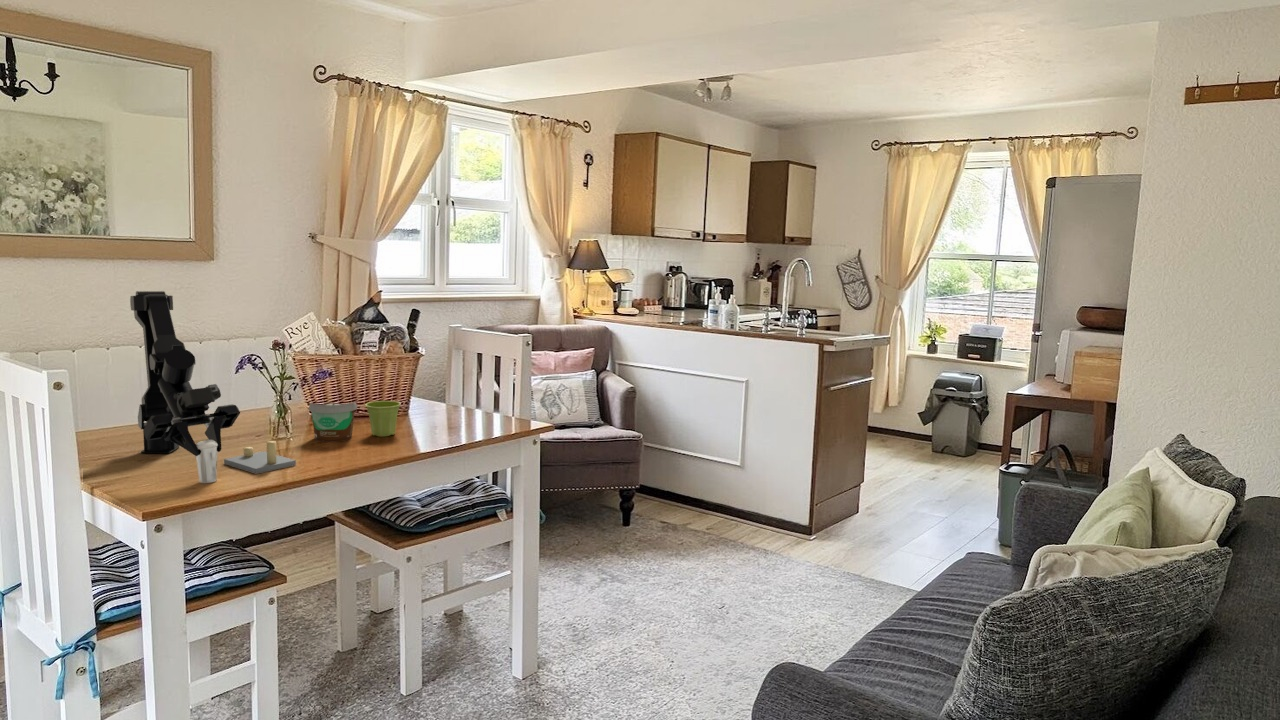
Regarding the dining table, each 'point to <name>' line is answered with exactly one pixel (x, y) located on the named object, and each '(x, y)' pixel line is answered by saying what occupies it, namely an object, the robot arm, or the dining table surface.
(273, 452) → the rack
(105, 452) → the dining table surface
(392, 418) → the plant pot
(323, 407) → the food container
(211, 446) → the milkshake
